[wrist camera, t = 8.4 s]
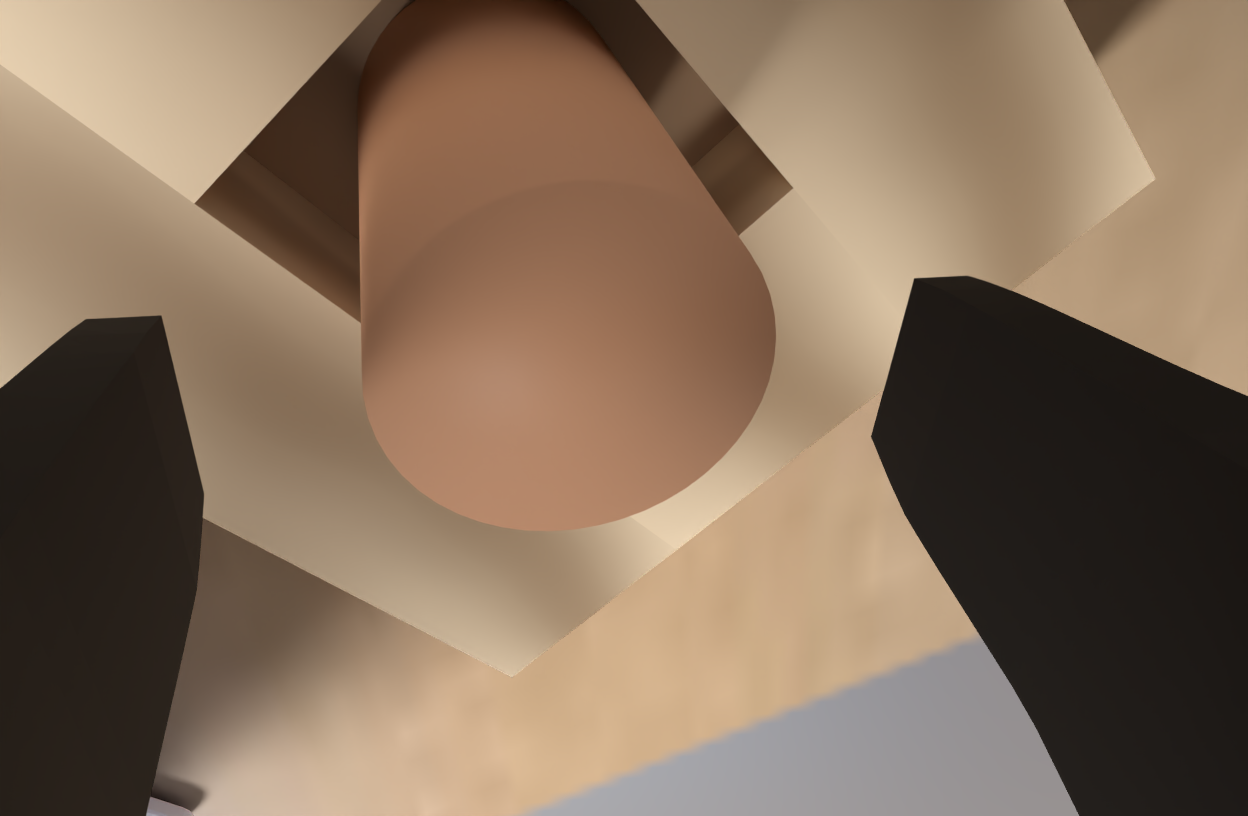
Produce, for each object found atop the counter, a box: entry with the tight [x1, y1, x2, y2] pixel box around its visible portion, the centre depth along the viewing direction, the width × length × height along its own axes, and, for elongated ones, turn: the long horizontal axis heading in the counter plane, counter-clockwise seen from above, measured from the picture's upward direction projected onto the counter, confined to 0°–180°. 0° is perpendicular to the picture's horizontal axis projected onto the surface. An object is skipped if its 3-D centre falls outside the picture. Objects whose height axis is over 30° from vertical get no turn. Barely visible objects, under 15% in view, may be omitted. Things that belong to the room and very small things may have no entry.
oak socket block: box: [0, 0, 1155, 678], centre depth 14 cm, size 14×14×3 cm
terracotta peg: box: [357, 0, 776, 531], centre depth 12 cm, size 4×4×7 cm
